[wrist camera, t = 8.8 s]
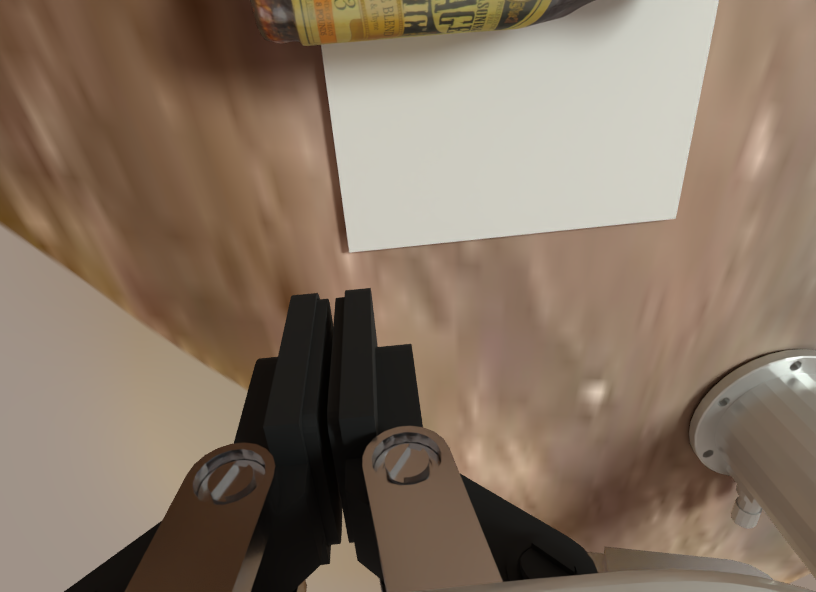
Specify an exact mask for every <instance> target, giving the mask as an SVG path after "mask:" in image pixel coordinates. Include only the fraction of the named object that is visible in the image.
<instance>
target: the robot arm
mask: <svg viewBox="0 0 816 592" xmlns="http://www.w3.org/2000/svg"><path fill="white" fill-rule="evenodd" d="M689 439H690V444H691V446H692V449H693V451H694V453H695V454H696V455H697V457H698V458H699V459H700V461H701V462H702V463H703V464H704V465H705V466H707V467H708V468H709V469H711V470H713V471H715V472H717V473H719V474H724V475H728V476H731V477H732V478H733V479H734V481H735V482H736V483H737V485H736V491H737V493H738V495H739V497H738V498H737V499H736V500H735V503H734V506H733V509H732V511H731V518H732V519H733V521H734V522H735V523H736V524H738V525H739V526H741V527H744V528H753V527H755V526H756V524H757V522H758V519H759V517H760V514H761V511H762V509H763V511H764V512H765V513H766V515H767V516H768V517H769V519H770V520H771V521H772V523H773V524H774V525H775V527H776V528H777V529H778V530H779V532H780V533H781V534H782V536H783V537H784V538H785V540H786V541H787V542H788V544H789V545H790V546H791V548H792V549H793V550H794V551H795V553H796V554H797V555H798V557H799V558H800V559H801V561H802V562H803V563H804V565H805V566H806V567H807V568H808V570H809V571H810V572H811V574H812V575H813V576H814V578H815V579H816V350H806V349H797V350H786V351H781V352H777V353H773V354H769V355H766V356H763V357H760V358H758V359H755V360H753V361H751V362H749V363H747V364H745V365H743V366H741V367H739V368H737V369H736V370H734V371H733V372H731V373H730V374H728V375H727V376H726V377H724V378H723V379H722V380H721V381H720V382H718V383H717V384H716V385H715V386H714V387H713V388H712V389H711V390H710V391H709V392H708V393H707V394H706V396H705V397H704V398H703V399H702V401H701V402H700V404H699V406H698V407H697V409H696V410H695V412H694V415H693V417H692V420H691V423H690V429H689ZM342 508H343V513H344V518H345V523H346V529H347V534H348V539H349V543H353V542H354V543H355V548H356V554H357V559H358V561H359V562H360V563H361V564H363V565H364V566H365V567H366V568H368V569H369V570H370V571H371V572H373V573H374V574H375V575H377V576H378V577H379V578H380V585H381V591H382V592H815V591H812V590H809V589H806V588H803V587H799V586H795V585H791V584H787V583H783V582H779V581H775V580H773V579H772V578H771V577H770V576H769V575H767V574H765V573H764V572H762V571H760V570H758V569H756V568H755V567H753V566H751V565H749V564H745V563H741V562H737V561H733V560H727V559H717V558H708V557H698V556H689V555H679V554H669V553H660V552H650V551H641V550H631V549H622V548H612V547H605V549H604V554H601V553H592V552H586V551H585V550H584V548H583V547H581V546H580V545H579V544H577V543H576V542H575V541H573V540H572V539H571V538H569V537H567V536H566V535H564V534H562V533H561V532H559V531H557V530H556V529H554V528H552V527H550V526H549V525H547V524H545V523H544V522H542V521H540V520H538V519H537V518H535V517H533V516H532V515H530V514H528V513H526V512H525V511H523V510H521V509H520V508H518V507H516V506H515V505H513V504H511V503H509V502H508V501H506V500H504V499H503V498H501V497H499V496H497V495H496V494H494V493H492V492H491V491H489V490H487V489H485V488H484V487H482V486H480V485H479V484H477V483H475V482H474V481H472V480H470V479H468V478H467V477H465V476H463V475H462V474H460V473H459V471H458V468H457V466H456V463H455V461H454V458H453V456H452V453H451V451H450V448H449V446H448V445H447V443H446V442H445V440H444V439H443V438H442V437H441V436H439V435H438V434H437V433H435V432H434V431H431V430H429V429H426V428H424V427H423V425H422V418H421V410H420V403H419V396H418V388H417V381H416V374H415V367H414V359H413V352H412V345H411V344H405V345H395V346H384V347H378V346H377V338H376V329H375V320H374V312H373V303H372V294H371V288H366V289H356V290H346V291H345V297H342V298H336V301H335V314H334V327H333V321H332V315H331V309H330V303H329V299H320V298H319V295H318V293H313V294H303V295H293V296H291V300H290V304H289V309H288V313H287V318H286V323H285V327H284V332H283V337H282V341H281V346H280V351H279V355H278V357H271V358H261V359H258V360H257V361H256V364H255V367H254V371H253V374H252V378H251V382H250V385H249V389H248V393H247V397H246V400H245V404H244V408H243V411H242V415H241V419H240V422H239V427H238V430H237V433H236V437H235V441H234V444H230V445H226V446H223V447H220V448H218V449H215V450H214V451H212V452H210V453H208V454H207V455H205V456H204V457H202V458H201V459H200V460H199V461H198V462H197V463H195V464H194V466H193V467H192V468H191V470H190V471H189V472H188V474H187V476H186V477H185V479H184V481H183V483H182V485H181V487H180V489H179V491H178V492H177V494H176V496H175V498H174V500H173V502H172V503H171V505H170V507H169V509H168V511H167V513H166V515H165V517H164V519H163V520H162V521H161V522H160V523H158V524H157V525H155V526H154V527H153V528H151V529H150V530H148V531H147V532H146V533H144V534H143V535H142V536H140V537H139V538H138V539H136V540H135V541H133V542H132V543H131V544H129V545H128V546H127V547H125V548H124V549H122V550H121V551H119V552H118V553H117V554H115V555H114V556H113V557H111V558H110V559H108V560H107V561H106V562H105V563H103V564H102V565H100V566H99V567H97V568H96V569H95V570H93V571H92V572H91V573H89V574H88V575H86V576H85V577H84V578H82V579H81V580H80V581H78V582H77V583H76V584H74V585H73V586H71V587H70V588H69V589H67V590H66V591H64V592H306V588H307V584H306V580H305V579H306V578H307V577H308V576H309V575H310V574H312V573H313V572H314V571H315V570H316V569H317V568H318V567H319V566H320V565H324V564H330V550H331V545H333V544H340V543H341V533H342Z"/></svg>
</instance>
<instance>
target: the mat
mask: <svg viewBox="0 0 816 592" xmlns="http://www.w3.org/2000/svg"><path fill="white" fill-rule="evenodd" d="M718 2H719V0H595V1H593V2H590V3H588V4H586V5H584V6H582V7H580V8H579V9H577V10H575V11H574V12H572V13H571V14H569V15H567V16H564V17H562V18H558V19H554V20H551V21H547V22H543V23H539V24H535V25H531V26H528V27H524V28H519V29H511V30H498V31H483V32H468V33H455V34H443V35H430V36H418V37H406V38H394V39H383V40H371V41H359V42H347V43H335V44H324V45H321V49H322V56H323V63H324V71H325V78H326V85H327V93H328V100H329V107H330V115H331V122H332V129H333V137H334V144H335V151H336V159H337V166H338V173H339V180H340V188H341V195H342V202H343V210H344V217H345V224H346V232H347V239H348V246H349V253H350V252H360V251H369V250H379V249H389V248H398V247H408V246H418V245H427V244H437V243H446V242H456V241H466V240H475V239H485V238H494V237H504V236H514V235H523V234H533V233H543V232H552V231H562V230H571V229H581V228H591V227H600V226H610V225H619V224H629V223H639V222H648V221H658V220H668V219H676V214H677V209H678V204H679V199H680V194H681V189H682V184H683V179H684V174H685V169H686V164H687V159H688V154H689V149H690V144H691V139H692V134H693V129H694V123H695V118H696V113H697V108H698V103H699V98H700V93H701V88H702V83H703V78H704V73H705V68H706V63H707V58H708V53H709V48H710V43H711V38H712V33H713V28H714V23H715V17H716V12H717V7H718Z"/></svg>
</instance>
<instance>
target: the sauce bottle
mask: <svg viewBox="0 0 816 592" xmlns="http://www.w3.org/2000/svg"><path fill="white" fill-rule="evenodd" d="M593 1H595V0H250V2H251V4H252V10H253V13H254V16H255V20H256V24H257V27H258V29H259V31H260V34H261V35H262V36H263V37H264V39H265V40H268V41H273V42H275V43H287V42H292V41H298V42H300V43H301V44H302V45H303V46H310V45H324V44H335V43H347V42H359V41H371V40H383V39H394V38H406V37H418V36H430V35H443V34H455V33H468V32H483V31H498V30H511V29H519V28H524V27H528V26H531V25H535V24H539V23H543V22H547V21H551V20H554V19H558V18H562V17H564V16H567V15H569V14H571V13H572V12H574V11H575V10H577V9H579V8H580V7H582V6H584V5H586V4H588V3H590V2H593Z"/></svg>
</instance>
